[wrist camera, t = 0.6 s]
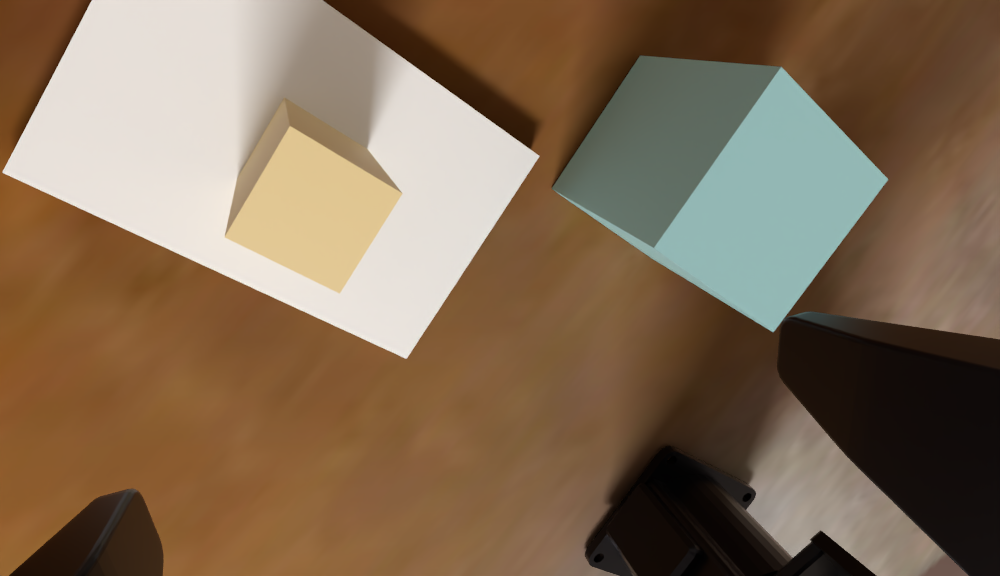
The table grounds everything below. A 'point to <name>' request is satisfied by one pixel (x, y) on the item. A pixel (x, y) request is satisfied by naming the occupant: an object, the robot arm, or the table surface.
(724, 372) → the table surface
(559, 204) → the table surface
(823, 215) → the teal rectangular block
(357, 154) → the post stand
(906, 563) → the table surface
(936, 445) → the robot arm
